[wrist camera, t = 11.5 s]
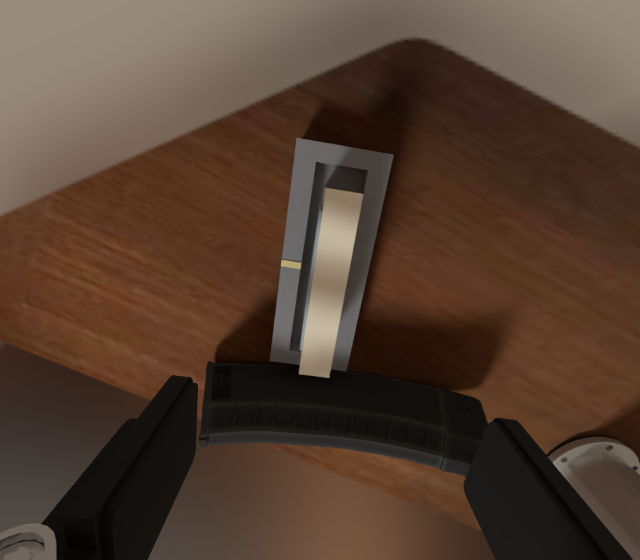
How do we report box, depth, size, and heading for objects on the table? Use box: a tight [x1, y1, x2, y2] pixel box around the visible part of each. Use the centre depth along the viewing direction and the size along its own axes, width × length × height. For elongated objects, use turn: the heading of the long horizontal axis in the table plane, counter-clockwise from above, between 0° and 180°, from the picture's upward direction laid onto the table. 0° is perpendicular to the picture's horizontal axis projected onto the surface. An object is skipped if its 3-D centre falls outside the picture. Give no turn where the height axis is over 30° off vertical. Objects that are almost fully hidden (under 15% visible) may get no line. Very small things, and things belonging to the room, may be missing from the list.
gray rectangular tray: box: [270, 138, 394, 371], centre depth 29 cm, size 21×8×4 cm, turn 171°
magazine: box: [199, 361, 488, 477], centre depth 30 cm, size 17×3×30 cm
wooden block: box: [299, 187, 363, 378], centre depth 25 cm, size 14×3×9 cm, turn 172°
